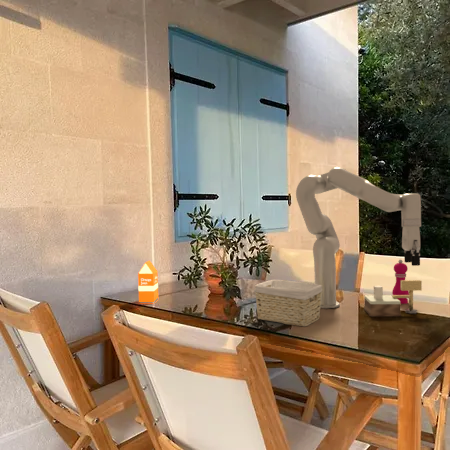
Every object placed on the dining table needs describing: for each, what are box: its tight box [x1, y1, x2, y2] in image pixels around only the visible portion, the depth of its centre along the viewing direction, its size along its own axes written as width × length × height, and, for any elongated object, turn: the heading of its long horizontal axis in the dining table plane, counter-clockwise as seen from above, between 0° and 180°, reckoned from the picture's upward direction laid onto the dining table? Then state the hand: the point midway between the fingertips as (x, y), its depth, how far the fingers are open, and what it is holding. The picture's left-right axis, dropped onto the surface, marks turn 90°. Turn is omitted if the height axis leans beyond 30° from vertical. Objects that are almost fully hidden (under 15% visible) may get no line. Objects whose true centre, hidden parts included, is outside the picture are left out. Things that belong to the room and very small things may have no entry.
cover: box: [364, 285, 401, 305], centre depth 196 cm, size 12×12×6 cm
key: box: [392, 279, 423, 310], centre depth 195 cm, size 12×2×12 cm, turn 85°
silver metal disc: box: [405, 308, 418, 315], centre depth 195 cm, size 4×4×1 cm
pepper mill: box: [391, 259, 409, 305], centre depth 214 cm, size 7×7×20 cm
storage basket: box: [253, 279, 322, 327], centre depth 188 cm, size 24×16×15 cm
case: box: [363, 298, 402, 317], centre depth 196 cm, size 12×12×5 cm
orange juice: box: [137, 260, 159, 303], centre depth 229 cm, size 8×9×20 cm
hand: (412, 263), depth 194 cm, fingers open, 9 cm apart
